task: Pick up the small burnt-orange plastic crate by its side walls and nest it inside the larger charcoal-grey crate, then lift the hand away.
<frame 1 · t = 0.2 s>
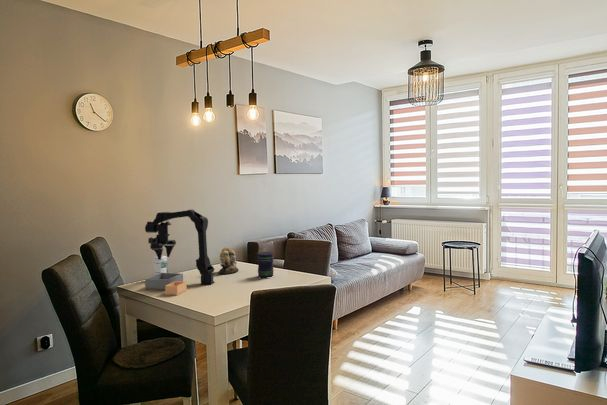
hand: (163, 258, 249), 15 cm above the table, fingers open, 9 cm apart
orange crate: (176, 292, 224), on the table
storage jar: (265, 276, 260), on the table
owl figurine: (228, 272, 275), on the table
grey crate: (164, 286, 239), on the table
syrup box: (161, 279, 257), on the table
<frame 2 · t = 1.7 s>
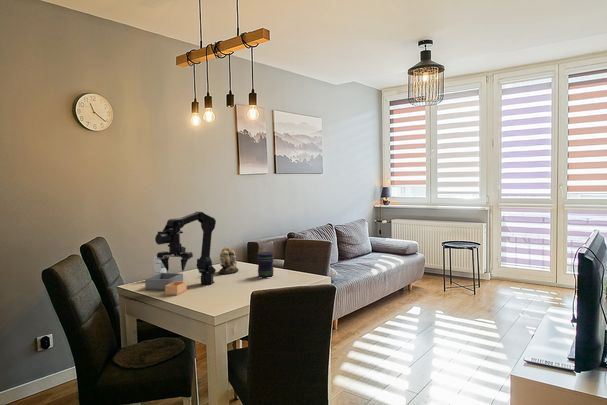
hand: (175, 270, 224), 12 cm above the table, fingers open, 9 cm apart
nothing on the table moved.
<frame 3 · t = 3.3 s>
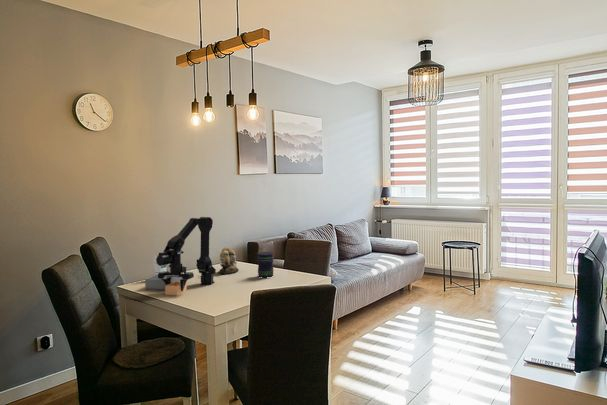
hand: (176, 290, 224), 1 cm above the table, fingers closed on orange crate, 7 cm apart
orange crate: (176, 292, 224), on the table, touching gripper
everything else where it was.
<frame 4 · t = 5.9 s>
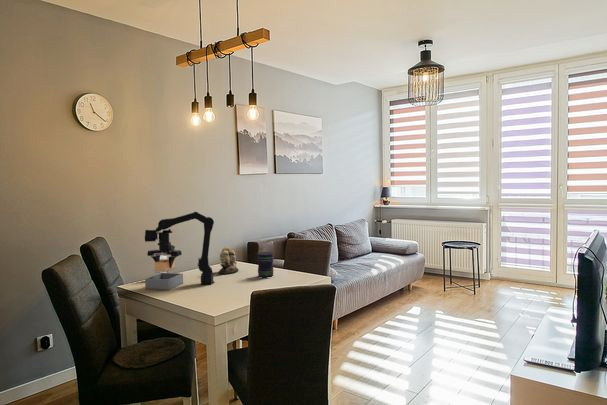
hand: (164, 267, 237), 11 cm above the table, fingers closed on orange crate, 7 cm apart
orange crate: (164, 269, 237), point 10 cm above the table, touching gripper
everything else where it was.
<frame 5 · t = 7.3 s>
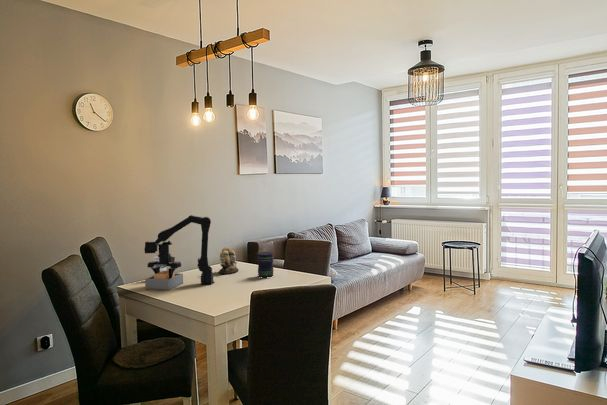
hand: (164, 279, 238), 4 cm above the table, fingers closed on orange crate, 7 cm apart
orange crate: (164, 281, 238), point 3 cm above the table, touching gripper
everything else where it was.
when the fingers open (3 cm above the table, at t = 8.4 s): orange crate drops 2 cm, resting on grey crate.
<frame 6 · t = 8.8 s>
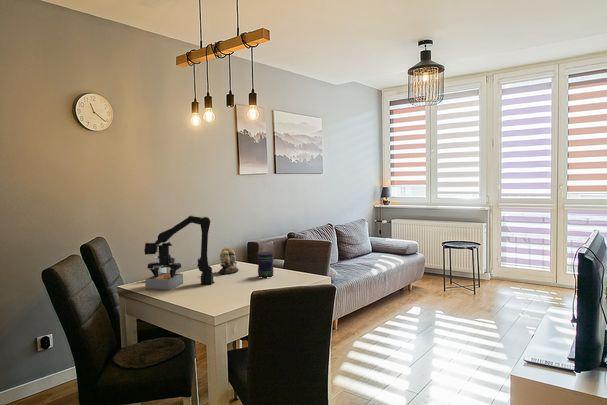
hand: (164, 280, 238), 3 cm above the table, fingers open, 9 cm apart
orange crate: (164, 285, 238), point 1 cm above the table, touching grey crate
everything else where it was.
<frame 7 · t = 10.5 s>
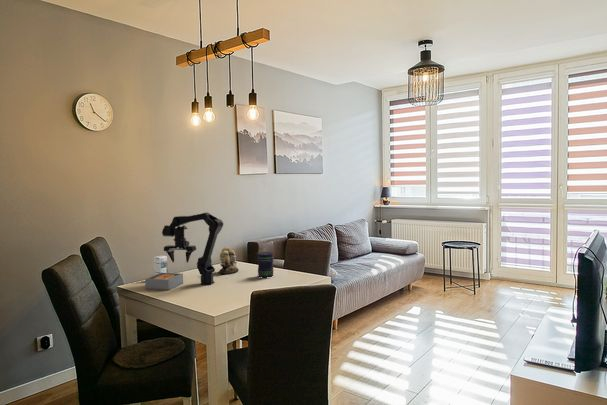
hand: (180, 262, 248), 12 cm above the table, fingers open, 9 cm apart
nothing on the table moved.
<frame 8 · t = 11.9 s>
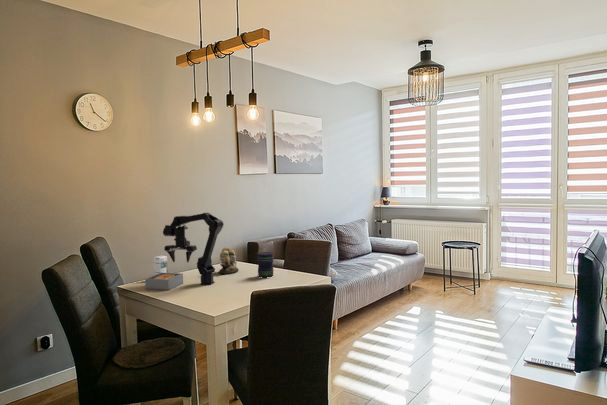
hand: (180, 262, 249), 12 cm above the table, fingers open, 9 cm apart
nothing on the table moved.
at the end: orange crate 0.1 cm off-centre on the grey crate, point 0.8 cm above the grey crate's base; orange crate tilted 0°; the gripper is holding nothing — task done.
